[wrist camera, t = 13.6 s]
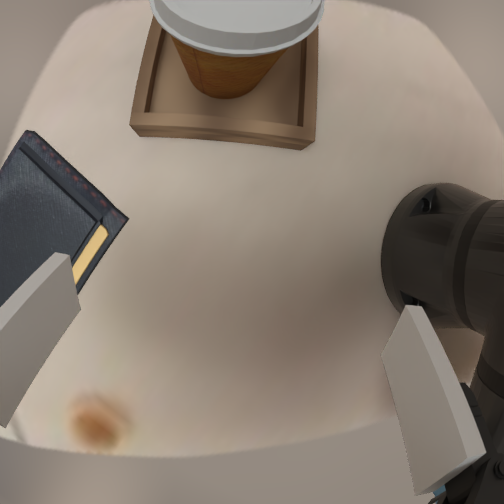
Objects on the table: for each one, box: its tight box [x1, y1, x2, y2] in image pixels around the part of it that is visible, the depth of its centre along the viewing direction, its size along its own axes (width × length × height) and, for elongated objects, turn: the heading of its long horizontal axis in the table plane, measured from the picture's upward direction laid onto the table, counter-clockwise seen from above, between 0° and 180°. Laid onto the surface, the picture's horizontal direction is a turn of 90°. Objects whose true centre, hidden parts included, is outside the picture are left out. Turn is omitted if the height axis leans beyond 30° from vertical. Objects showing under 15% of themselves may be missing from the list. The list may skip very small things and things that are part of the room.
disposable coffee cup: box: [149, 0, 324, 99], centre depth 17 cm, size 10×10×12 cm
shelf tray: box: [129, 16, 318, 150], centre depth 23 cm, size 14×13×4 cm
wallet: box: [0, 130, 129, 307], centre depth 24 cm, size 20×2×15 cm
